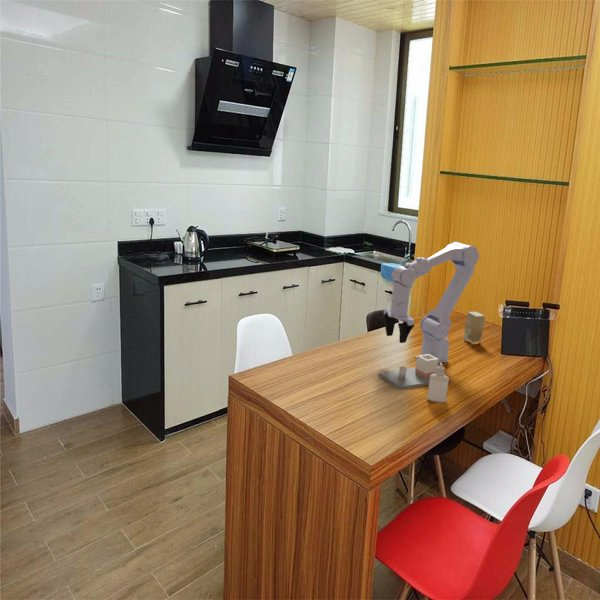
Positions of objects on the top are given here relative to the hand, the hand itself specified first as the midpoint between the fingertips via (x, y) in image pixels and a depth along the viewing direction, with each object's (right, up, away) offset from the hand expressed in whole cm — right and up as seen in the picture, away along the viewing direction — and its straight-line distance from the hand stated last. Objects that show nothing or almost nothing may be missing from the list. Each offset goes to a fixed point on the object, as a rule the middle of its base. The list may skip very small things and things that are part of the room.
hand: (395, 338), depth 189 cm
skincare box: (+37, -4, +32) cm, 49 cm away
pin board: (+4, -13, -9) cm, 16 cm away
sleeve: (+9, -11, -8) cm, 16 cm away
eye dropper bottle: (+8, -17, -25) cm, 31 cm away
